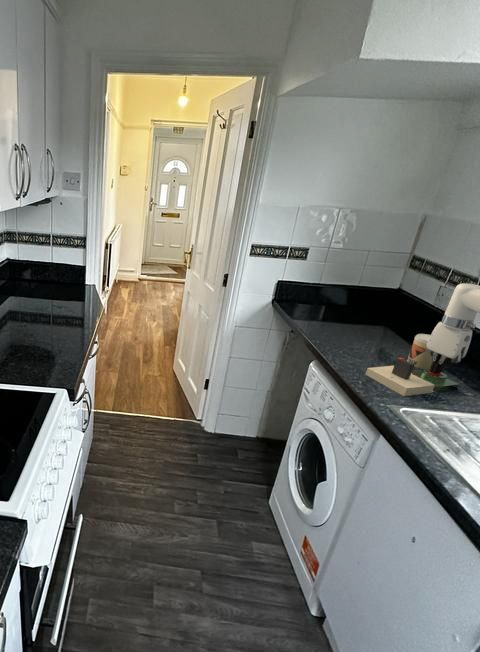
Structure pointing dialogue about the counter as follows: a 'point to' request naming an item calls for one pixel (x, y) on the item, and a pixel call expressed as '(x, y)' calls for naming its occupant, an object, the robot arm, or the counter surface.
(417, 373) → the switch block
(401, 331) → the counter surface
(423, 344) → the coffee cup
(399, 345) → the counter surface
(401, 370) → the dark brown upright block
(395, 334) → the counter surface
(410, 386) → the tan rectangular slab
